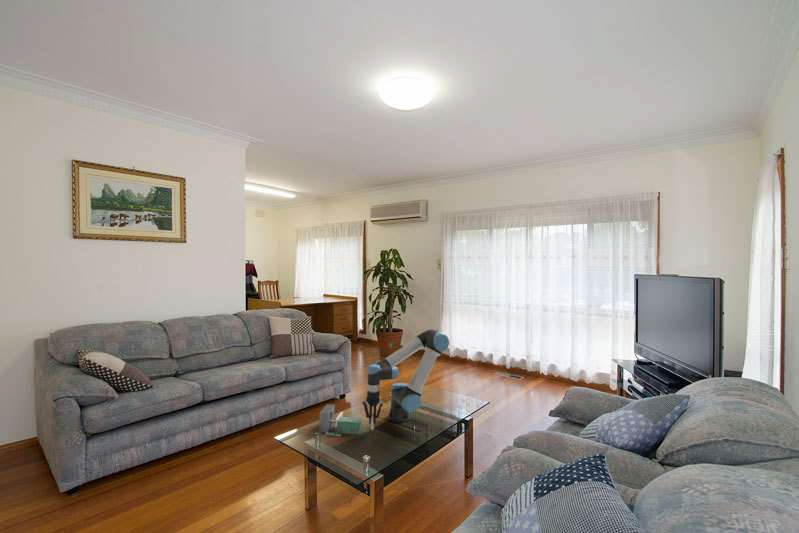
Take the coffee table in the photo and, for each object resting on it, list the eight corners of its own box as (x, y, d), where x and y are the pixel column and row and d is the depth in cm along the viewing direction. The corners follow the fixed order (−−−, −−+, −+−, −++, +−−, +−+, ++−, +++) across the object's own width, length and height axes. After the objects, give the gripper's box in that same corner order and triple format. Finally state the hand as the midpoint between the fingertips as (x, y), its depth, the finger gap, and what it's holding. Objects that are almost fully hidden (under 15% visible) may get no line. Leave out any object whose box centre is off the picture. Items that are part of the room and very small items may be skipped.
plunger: (342, 424, 234) (342, 412, 234) (335, 435, 218) (335, 422, 218) (322, 422, 235) (323, 410, 235) (314, 433, 220) (314, 420, 220)
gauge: (347, 424, 234) (348, 406, 234) (340, 436, 218) (341, 416, 218) (326, 423, 236) (326, 404, 236) (317, 434, 220) (318, 414, 220)
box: (359, 435, 221) (359, 422, 221) (337, 433, 222) (337, 420, 222) (361, 429, 228) (362, 417, 228) (340, 428, 230) (340, 416, 230)
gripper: (384, 389, 228) (383, 427, 228) (364, 387, 230) (363, 425, 230) (382, 393, 221) (381, 432, 221) (361, 391, 223) (360, 430, 223)
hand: (372, 428), depth 225 cm, fingers closed
